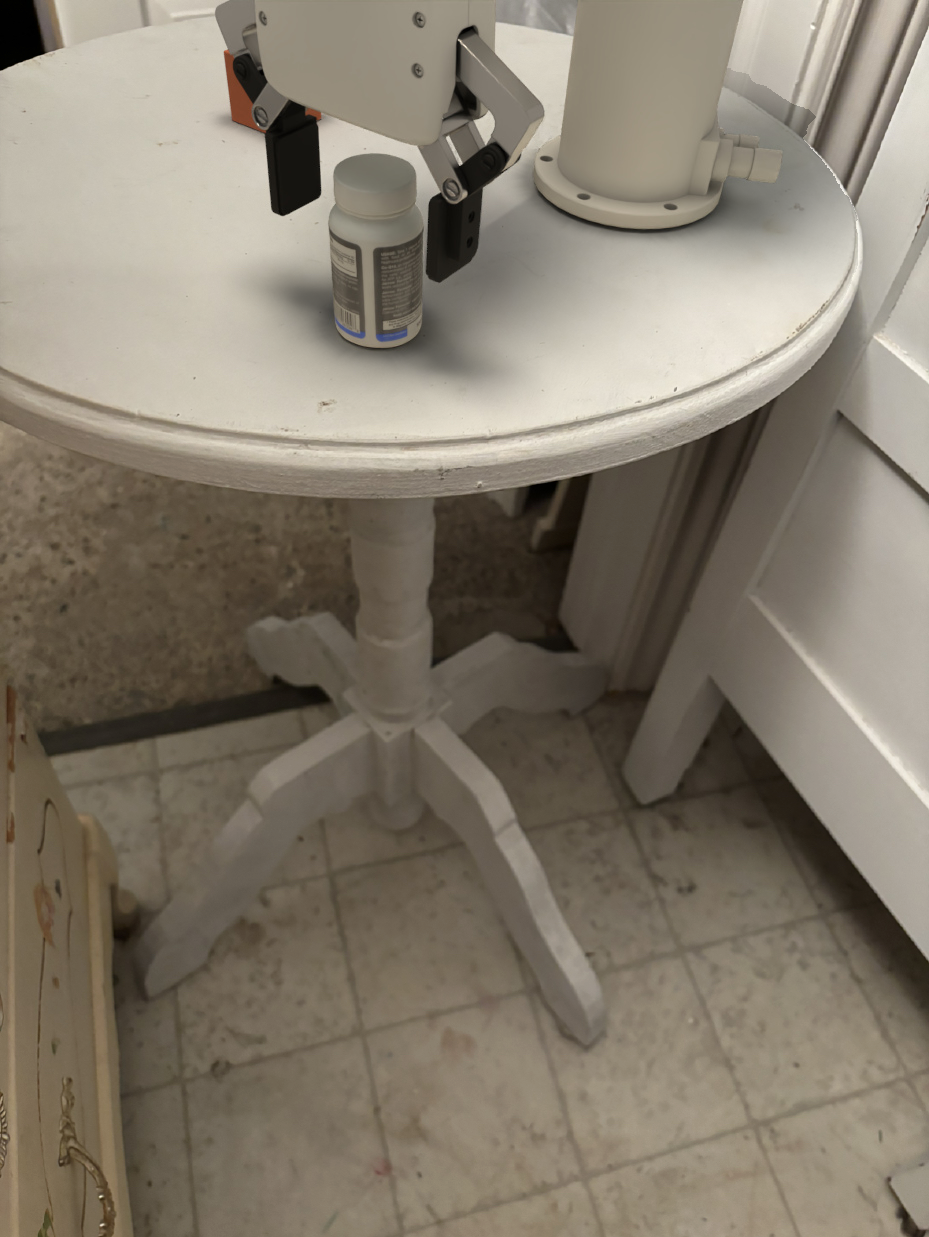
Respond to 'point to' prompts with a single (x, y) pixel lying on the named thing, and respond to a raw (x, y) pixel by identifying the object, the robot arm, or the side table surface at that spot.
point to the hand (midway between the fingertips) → (371, 237)
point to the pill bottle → (376, 250)
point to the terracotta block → (244, 98)
